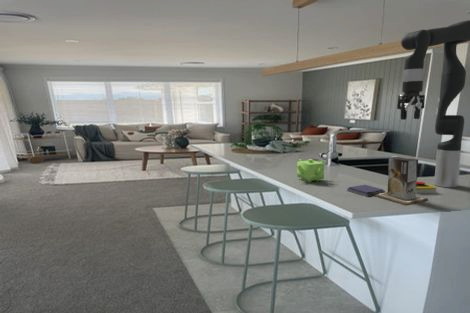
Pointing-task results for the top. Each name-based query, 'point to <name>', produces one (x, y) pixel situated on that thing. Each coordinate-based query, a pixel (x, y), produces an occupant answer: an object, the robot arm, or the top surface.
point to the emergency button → (425, 189)
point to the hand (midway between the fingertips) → (410, 119)
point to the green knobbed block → (310, 170)
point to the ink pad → (365, 190)
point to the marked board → (399, 200)
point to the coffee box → (402, 177)
